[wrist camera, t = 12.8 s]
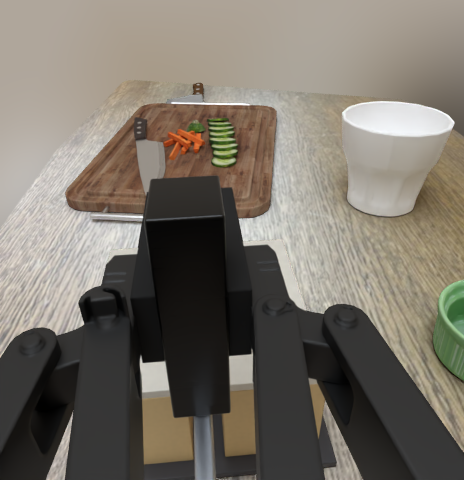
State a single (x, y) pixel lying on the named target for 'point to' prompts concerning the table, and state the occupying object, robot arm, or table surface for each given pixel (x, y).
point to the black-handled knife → (192, 301)
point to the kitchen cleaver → (195, 97)
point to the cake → (224, 425)
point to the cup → (391, 153)
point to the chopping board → (181, 157)
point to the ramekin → (451, 328)
